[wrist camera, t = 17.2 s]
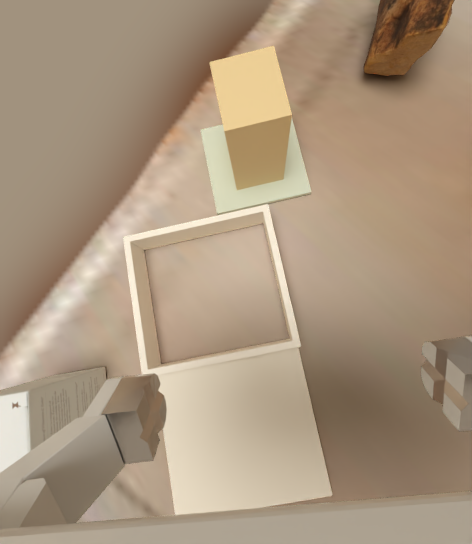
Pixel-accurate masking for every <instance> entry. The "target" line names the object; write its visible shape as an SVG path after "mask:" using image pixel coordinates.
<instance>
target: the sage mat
mask: <svg viewBox="0 0 472 544" xmlns="http://www.w3.org/2000/svg"><path fill="white" fill-rule="evenodd" d="M201 135H202V140H203V145H204V150H205V155H206V160H207V165H208V170H209V175H210V180H211V185H212V190H213V195H214V200H215V205H216V210H217V214H218V215H221V214H225V213H230V212H234V211H239V210H243V209H247V208H252V207H256V206H261V205H265V204H269V203H274V202H278V201H283V200H287V199H291V198H296V197H300V196H304V195H309V194H311V189H310V185H309V181H308V177H307V173H306V170H305V166H304V162H303V158H302V155H301V151H300V147H299V143H298V139H297V136H296V132H295V128H294V124H293V120H292V119H291V126H290V134H289V141H288V149H287V156H286V164H285V171H284V179H283V180H279V181H275V182H270V183H266V184H262V185H257V186H253V187H249V188H244V189H240V190H237V189H236V184H235V179H234V175H233V170H232V165H231V161H230V156H229V151H228V147H227V142H226V137H225V133H224V128H223V124H222V125H218V126H214V127H210V128H206V129H202V130H201Z"/></svg>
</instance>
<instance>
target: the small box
mask: <svg viewBox="0 0 472 544" xmlns="http://www.w3.org/2000/svg"><path fill="white" fill-rule="evenodd" d="M105 381H106V368H105V367H100V368H94V369H88V370H82V371H76V372H70V373H64V374H58V375H53V376H49V377H46V378H42V379H39V380H35V381H32V382H28V383H24V384H21V385H17V386H14V387H10V388H6V389H3V390H0V473H1V472H2V471H3V470H5V469H6V468H8V467H9V466H10V465H12V464H13V463H15V462H16V461H17V460H19V459H20V458H22V457H23V456H24V455H26V454H27V453H29V452H30V451H31V450H33V449H34V448H36V447H37V446H38V445H40V444H41V443H43V442H44V441H45V440H47V439H48V438H50V437H51V436H52V435H54V434H55V433H57V432H58V431H59V430H61V429H62V428H64V427H65V426H66V425H68V424H69V423H71V422H72V421H73V420H75V419H76V418H79V417H83V415H84V414H85V412H86V411H87V409H88V407H89V406H90V404H91V403H92V401H93V400H94V398H95V397H96V395H97V394H98V392H99V390H100V389H101V387H102V386H103V384H104V383H105Z"/></svg>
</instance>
